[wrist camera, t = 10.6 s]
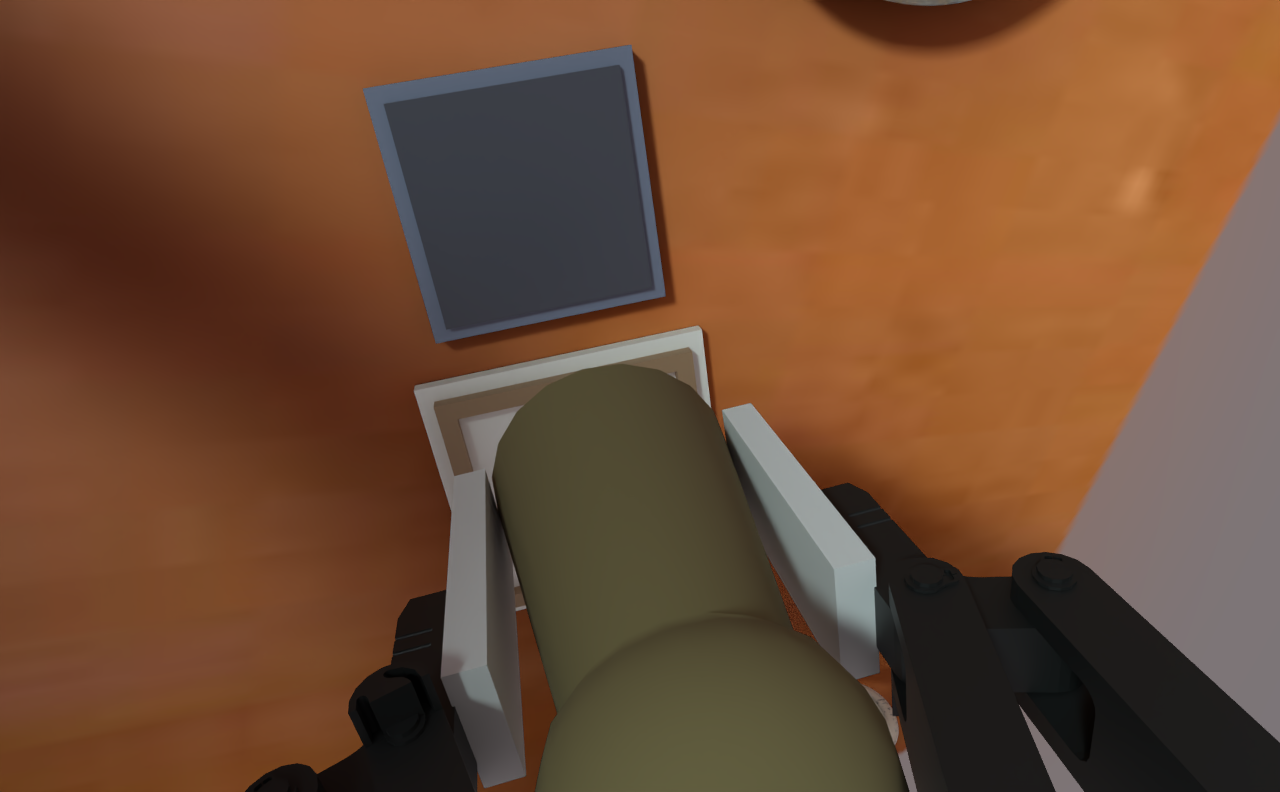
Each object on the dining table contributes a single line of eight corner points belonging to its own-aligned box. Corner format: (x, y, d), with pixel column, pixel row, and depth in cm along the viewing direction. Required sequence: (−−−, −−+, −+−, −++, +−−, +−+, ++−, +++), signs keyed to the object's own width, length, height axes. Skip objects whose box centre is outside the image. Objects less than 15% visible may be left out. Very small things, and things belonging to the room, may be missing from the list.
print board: (414, 385, 32) (412, 396, 31) (698, 325, 34) (705, 333, 33) (484, 611, 38) (484, 627, 37) (725, 550, 40) (731, 564, 38)
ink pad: (366, 88, 27) (361, 88, 26) (626, 45, 29) (632, 44, 27) (437, 336, 32) (435, 346, 31) (661, 290, 33) (667, 298, 32)
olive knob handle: (765, 404, 19) (1080, 779, 9) (671, 591, 21) (846, 1071, 11) (541, 330, 17) (628, 706, 7) (459, 544, 19) (438, 1080, 9)
